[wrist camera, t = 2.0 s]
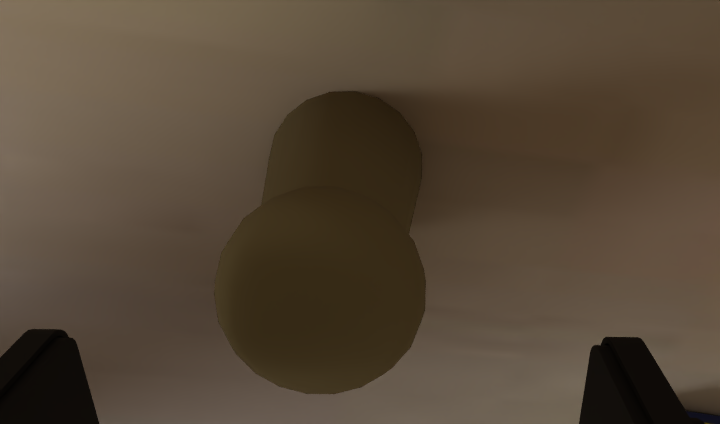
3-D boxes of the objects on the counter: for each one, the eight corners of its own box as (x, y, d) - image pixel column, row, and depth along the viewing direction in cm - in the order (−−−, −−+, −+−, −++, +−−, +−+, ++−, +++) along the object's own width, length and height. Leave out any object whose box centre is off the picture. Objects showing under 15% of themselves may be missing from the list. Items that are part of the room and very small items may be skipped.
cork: (450, 133, 22) (501, 278, 12) (380, 258, 25) (375, 467, 15) (305, 62, 22) (233, 157, 11) (247, 199, 24) (144, 378, 14)
